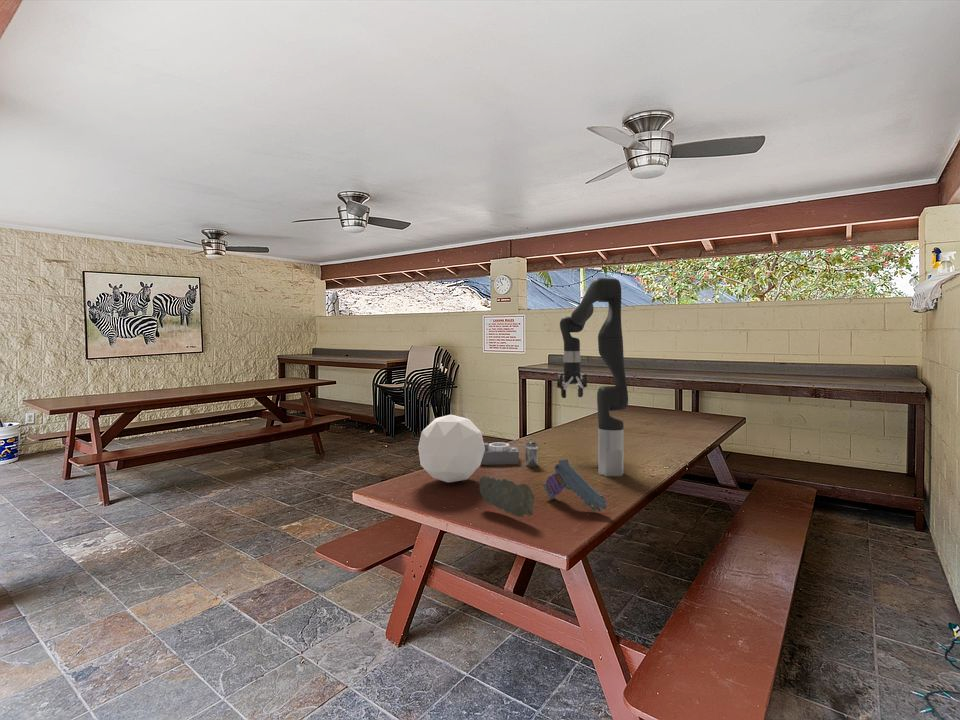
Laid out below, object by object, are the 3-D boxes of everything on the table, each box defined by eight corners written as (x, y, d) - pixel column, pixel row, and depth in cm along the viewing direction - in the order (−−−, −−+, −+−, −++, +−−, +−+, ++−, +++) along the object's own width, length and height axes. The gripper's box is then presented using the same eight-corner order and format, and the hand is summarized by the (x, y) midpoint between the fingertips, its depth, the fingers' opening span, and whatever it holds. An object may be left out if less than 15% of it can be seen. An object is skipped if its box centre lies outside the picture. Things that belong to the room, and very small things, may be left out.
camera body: (518, 466, 203) (518, 446, 203) (479, 466, 204) (479, 446, 203) (517, 460, 214) (517, 440, 214) (480, 460, 214) (480, 441, 214)
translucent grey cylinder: (538, 469, 199) (538, 443, 198) (526, 469, 199) (525, 443, 198) (536, 466, 204) (536, 441, 203) (525, 466, 204) (524, 441, 204)
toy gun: (545, 486, 166) (564, 453, 160) (590, 534, 154) (612, 500, 147) (539, 488, 164) (557, 454, 158) (583, 537, 151) (605, 502, 145)
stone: (478, 504, 157) (478, 473, 157) (486, 502, 160) (487, 471, 159) (529, 522, 142) (529, 487, 141) (537, 519, 144) (538, 485, 144)
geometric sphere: (453, 469, 199) (452, 407, 198) (498, 482, 181) (498, 414, 180) (404, 482, 182) (403, 414, 181) (449, 497, 165) (448, 422, 164)
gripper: (562, 361, 216) (563, 399, 216) (590, 361, 221) (590, 397, 222) (553, 361, 223) (554, 397, 223) (580, 360, 228) (580, 396, 229)
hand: (572, 397), depth 222 cm, fingers open, 8 cm apart
